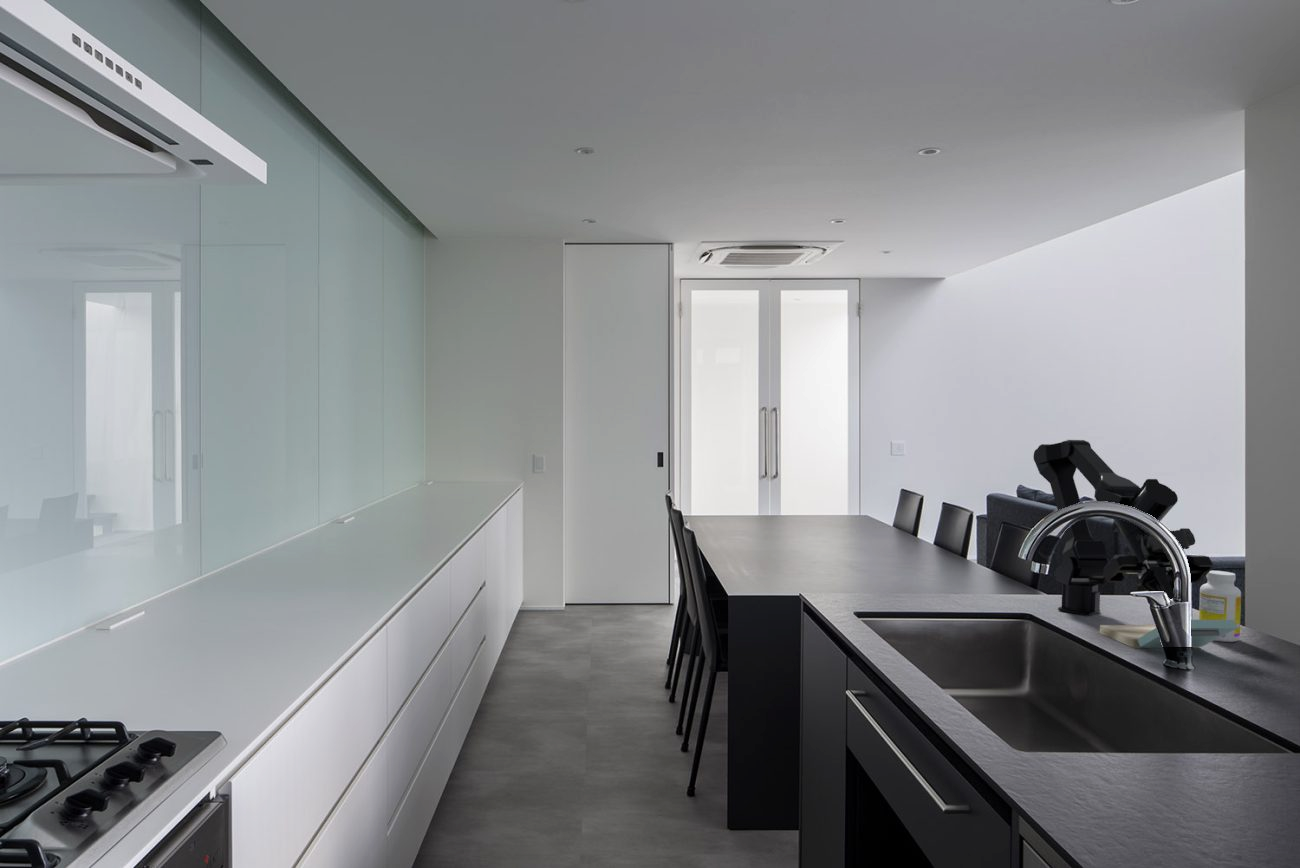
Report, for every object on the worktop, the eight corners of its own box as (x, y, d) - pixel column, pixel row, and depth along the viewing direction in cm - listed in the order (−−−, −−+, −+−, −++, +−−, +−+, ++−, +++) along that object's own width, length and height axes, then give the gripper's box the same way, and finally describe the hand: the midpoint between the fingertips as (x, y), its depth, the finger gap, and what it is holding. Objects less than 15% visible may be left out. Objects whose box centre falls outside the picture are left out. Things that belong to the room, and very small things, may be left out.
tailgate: (1137, 638, 154) (1169, 619, 146) (1198, 638, 155) (1234, 619, 147) (1141, 651, 153) (1174, 633, 144) (1203, 651, 154) (1239, 632, 145)
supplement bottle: (1226, 634, 166) (1229, 570, 165) (1247, 643, 159) (1250, 576, 159) (1191, 632, 166) (1193, 568, 166) (1209, 642, 160) (1212, 575, 159)
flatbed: (1099, 633, 164) (1099, 625, 164) (1162, 633, 165) (1162, 625, 165) (1133, 647, 154) (1133, 639, 154) (1199, 647, 156) (1199, 639, 155)
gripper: (1115, 512, 156) (1152, 584, 145) (1209, 513, 157) (1253, 584, 147) (1088, 546, 164) (1121, 616, 154) (1178, 547, 166) (1216, 617, 155)
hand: (1178, 608), depth 152 cm, fingers closed
